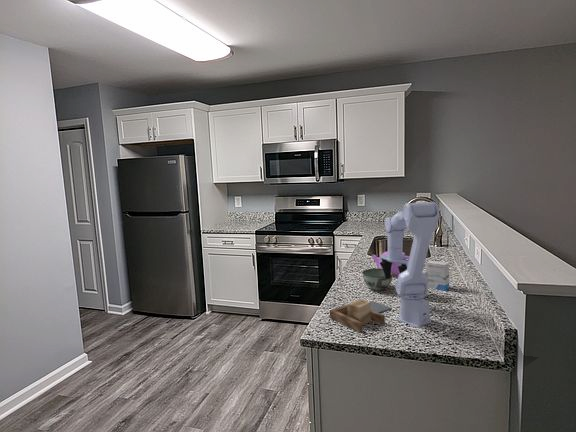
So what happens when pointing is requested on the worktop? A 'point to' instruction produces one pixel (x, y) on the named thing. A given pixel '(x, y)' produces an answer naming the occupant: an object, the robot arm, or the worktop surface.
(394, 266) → the teakettle
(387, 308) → the mat
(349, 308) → the gripped blank
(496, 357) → the worktop surface
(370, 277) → the bowl
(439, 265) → the ink box
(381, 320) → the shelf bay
